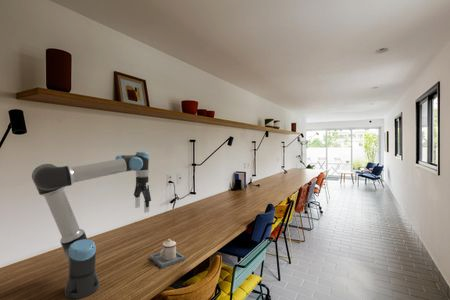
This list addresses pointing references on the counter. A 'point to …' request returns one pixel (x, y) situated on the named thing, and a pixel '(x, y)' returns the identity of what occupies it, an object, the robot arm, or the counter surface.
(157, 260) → the cup tray
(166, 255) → the teacup with lid
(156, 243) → the counter surface
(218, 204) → the counter surface
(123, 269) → the counter surface
